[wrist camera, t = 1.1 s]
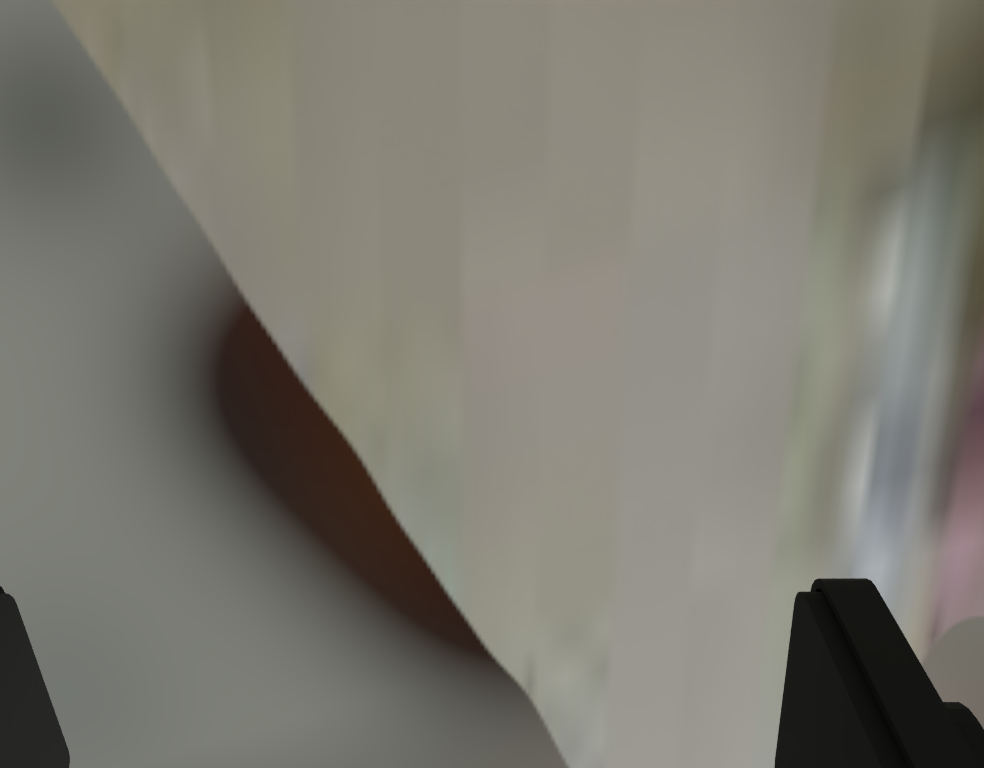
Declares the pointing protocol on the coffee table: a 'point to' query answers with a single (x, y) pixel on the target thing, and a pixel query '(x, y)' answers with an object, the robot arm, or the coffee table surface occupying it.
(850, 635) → the robot arm
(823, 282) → the coffee table surface
